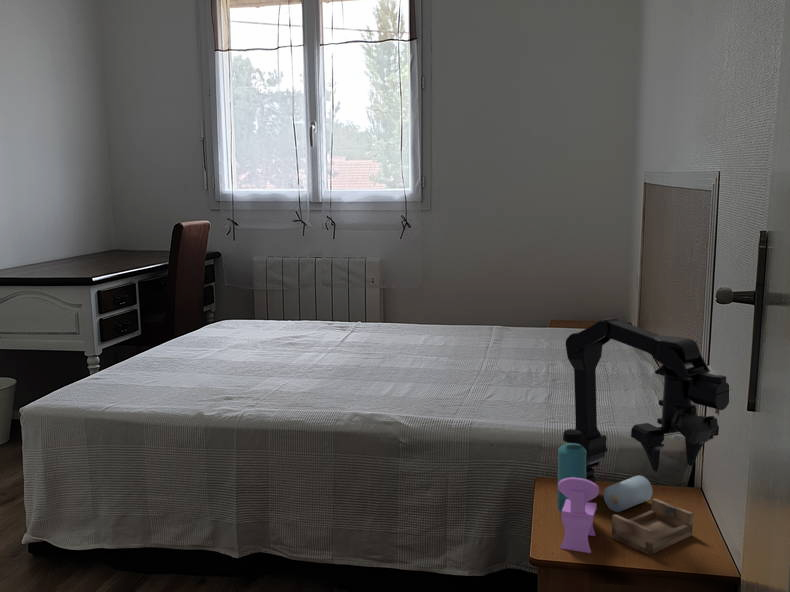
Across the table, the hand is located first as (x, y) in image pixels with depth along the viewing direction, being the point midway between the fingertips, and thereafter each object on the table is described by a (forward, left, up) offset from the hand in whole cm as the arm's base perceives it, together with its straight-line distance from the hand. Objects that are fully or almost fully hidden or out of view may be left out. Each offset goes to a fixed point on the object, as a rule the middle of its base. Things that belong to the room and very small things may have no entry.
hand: (672, 468), depth 162 cm
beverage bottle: (-17, -12, -14) cm, 25 cm away
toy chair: (-8, -20, -14) cm, 26 cm away
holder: (0, -6, -14) cm, 15 cm away
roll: (-13, +3, -14) cm, 19 cm away
